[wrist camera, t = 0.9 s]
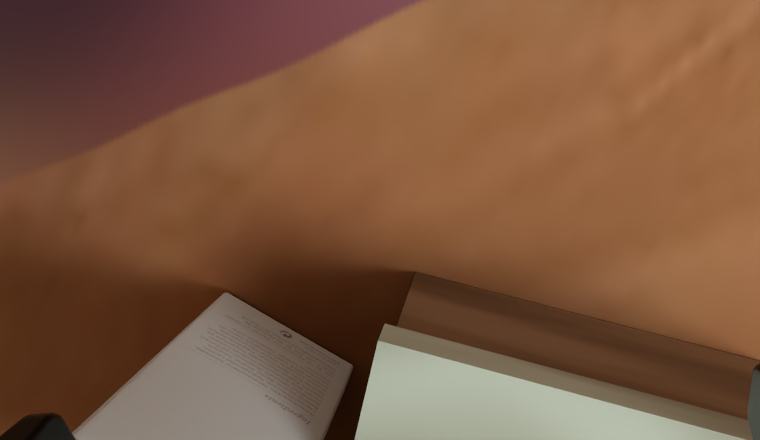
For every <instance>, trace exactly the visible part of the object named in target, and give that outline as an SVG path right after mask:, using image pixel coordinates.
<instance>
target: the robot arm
mask: <svg viewBox="0 0 760 440" xmlns="http://www.w3.org/2000/svg"><path fill="white" fill-rule="evenodd" d="M748 423H749V428H750V432H751V435H752V438H753V440H760V363H758V364H756V365H755V367H754V369H753V372H752V379H751V387H750V395H749V403H748ZM0 440H76V439H75V437H74V436H73V434H72V432H71V431H70V429H69V428H68V426H67V424H66V423H65V421H64V420H63V418H62V417H61V416H60V415H58V414H56V413H41V414H31V415H28V416H26V417H24V418H22V419H21V420H20V421H19V422H17V423H16V424H15V425H14V426H12V427H11V428H10V429H9V430H7V431H6V432H5V433H4V434H2V435H1V436H0Z"/></svg>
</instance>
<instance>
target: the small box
mask: <svg viewBox="0 0 760 440" xmlns="http://www.w3.org/2000/svg"><path fill="white" fill-rule="evenodd" d="M352 371H353V365H352V364H350V363H348V362H346V361H345V360H343V359H341V358H339V357H338V356H336V355H334V354H333V353H331V352H329V351H327V350H326V349H324V348H322V347H321V346H319V345H317V344H315V343H314V342H312V341H310V340H309V339H307V338H305V337H303V336H302V335H300V334H298V333H296V332H294V331H293V330H291V329H289V328H287V327H286V326H284V325H282V324H281V323H279V322H277V321H275V320H274V319H272V318H270V317H268V316H267V315H265V314H263V313H262V312H260V311H258V310H257V309H255V308H253V307H251V306H250V305H248V304H246V303H245V302H243V301H241V300H239V299H238V298H236V297H234V296H232V295H231V294H229V293H227V292H226V293H223V294H222V295H221V296H220V297H219V298H218V299H217V300H216V301H215V302H213V303H212V304H211V305H210V306H209V307H208V308H207V309H206V310H204V311H203V312H202V313H201V314H200V315H199V316H198V317H197V318H196V319H195V320H194V321H193V322H191V323H190V324H189V325H188V326H187V327H186V328H185V329H184V330H183V331H182V332H181V333H179V334H178V335H177V336H176V337H175V338H174V339H173V340H172V341H171V342H170V343H169V344H168V345H167V346H165V347H164V348H163V349H162V350H161V351H160V352H159V353H158V354H157V355H156V356H154V357H153V358H152V359H151V360H150V361H149V362H148V363H147V364H146V365H145V366H144V367H143V368H142V369H140V370H139V371H138V372H137V373H136V374H135V375H134V376H133V377H132V378H131V379H130V380H129V381H127V382H126V383H125V384H124V385H123V386H122V387H121V388H120V389H119V390H118V391H117V392H116V393H115V394H113V395H112V396H111V397H110V398H109V399H108V400H107V401H106V402H105V403H104V404H103V405H101V406H100V407H99V408H98V409H97V410H96V411H95V412H94V413H93V414H92V415H91V416H89V417H88V418H87V419H86V420H85V421H84V422H83V423H82V424H81V425H80V426H79V427H77V428H76V429H75V430H74V431H73V432H72V434H73V436H74V437H75V439H76V440H324V438H325V436H326V434H327V431H328V429H329V427H330V424H331V422H332V420H333V417H334V414H335V412H336V410H337V408H338V405H339V403H340V400H341V398H342V396H343V393H344V391H345V388H346V386H347V383H348V381H349V378H350V376H351V373H352Z"/></svg>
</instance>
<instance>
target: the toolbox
mask: <svg viewBox="0 0 760 440" xmlns="http://www.w3.org/2000/svg"><path fill="white" fill-rule="evenodd" d="M758 363H760V361H758V360H754V359H750V358H746V357H742V356H738V355H734V354H731V353H727V352H723V351H719V350H715V349H711V348H707V347H703V346H700V345H696V344H692V343H688V342H684V341H680V340H676V339H673V338H669V337H665V336H661V335H657V334H653V333H649V332H645V331H642V330H638V329H634V328H630V327H626V326H622V325H618V324H615V323H611V322H607V321H603V320H599V319H595V318H591V317H587V316H584V315H580V314H576V313H572V312H568V311H564V310H560V309H557V308H553V307H549V306H545V305H541V304H537V303H533V302H529V301H526V300H522V299H518V298H514V297H510V296H506V295H502V294H499V293H495V292H491V291H487V290H483V289H479V288H475V287H471V286H468V285H464V284H460V283H456V282H452V281H448V280H444V279H440V278H437V277H433V276H429V275H425V274H421V273H417V272H415V275H414V278H413V281H412V284H411V287H410V289H409V292H408V295H407V298H406V301H405V304H404V307H403V310H402V312H401V315H400V318H399V321H398V324H397V327H396V326H392V325H389V324H384V327H383V329H382V332H381V334H380V337H379V339H378V342H377V347H376V351H375V355H374V359H373V364H372V368H371V372H370V376H369V380H368V385H367V389H366V393H365V397H364V401H363V406H362V410H361V414H360V418H359V423H358V427H357V431H356V435H355V439H354V440H753V438H752V435H751V432H750V428H749V423H748V403H749V395H750V387H751V379H752V372H753V369H754V367H755V365H756V364H758Z"/></svg>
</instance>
